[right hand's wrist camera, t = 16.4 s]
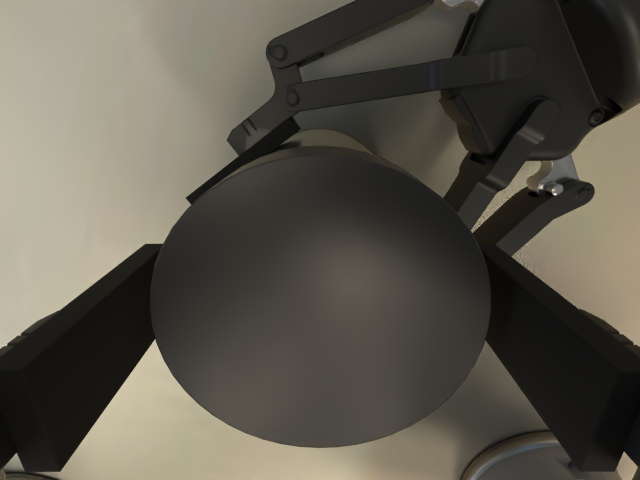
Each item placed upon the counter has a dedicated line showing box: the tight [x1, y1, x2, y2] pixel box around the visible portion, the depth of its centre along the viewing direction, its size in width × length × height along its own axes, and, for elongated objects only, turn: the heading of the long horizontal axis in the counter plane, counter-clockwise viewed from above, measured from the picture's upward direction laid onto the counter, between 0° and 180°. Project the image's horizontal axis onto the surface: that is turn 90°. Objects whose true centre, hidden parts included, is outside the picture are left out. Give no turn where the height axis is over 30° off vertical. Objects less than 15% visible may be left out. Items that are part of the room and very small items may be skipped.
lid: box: [150, 145, 491, 448], centre depth 11 cm, size 10×10×2 cm
